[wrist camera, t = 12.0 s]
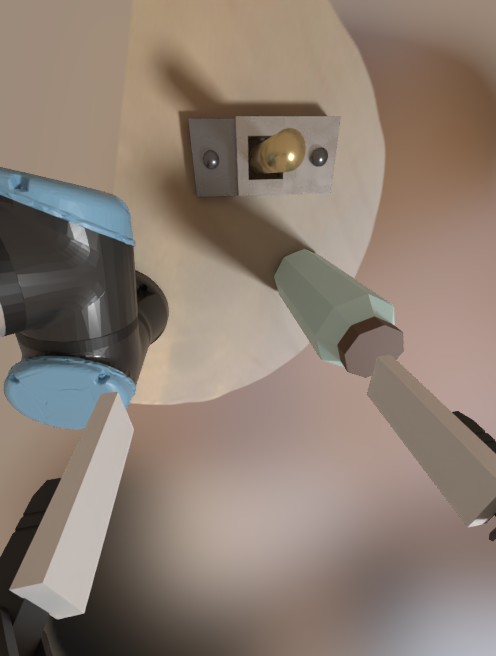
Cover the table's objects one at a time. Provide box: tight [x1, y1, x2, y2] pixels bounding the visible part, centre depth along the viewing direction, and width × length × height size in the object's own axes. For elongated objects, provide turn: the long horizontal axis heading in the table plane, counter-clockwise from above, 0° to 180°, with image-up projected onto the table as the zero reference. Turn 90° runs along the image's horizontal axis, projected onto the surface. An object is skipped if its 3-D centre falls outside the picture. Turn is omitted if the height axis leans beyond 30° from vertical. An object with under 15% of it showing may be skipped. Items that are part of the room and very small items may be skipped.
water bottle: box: [274, 249, 404, 378], centre depth 37 cm, size 10×10×25 cm
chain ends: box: [188, 116, 341, 197], centre depth 36 cm, size 20×9×4 cm, turn 91°
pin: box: [250, 128, 306, 174], centre depth 31 cm, size 4×4×14 cm
